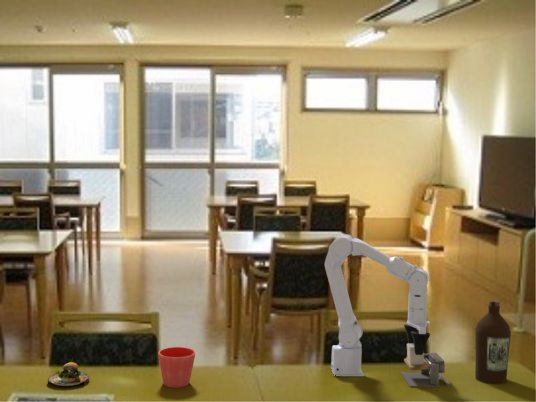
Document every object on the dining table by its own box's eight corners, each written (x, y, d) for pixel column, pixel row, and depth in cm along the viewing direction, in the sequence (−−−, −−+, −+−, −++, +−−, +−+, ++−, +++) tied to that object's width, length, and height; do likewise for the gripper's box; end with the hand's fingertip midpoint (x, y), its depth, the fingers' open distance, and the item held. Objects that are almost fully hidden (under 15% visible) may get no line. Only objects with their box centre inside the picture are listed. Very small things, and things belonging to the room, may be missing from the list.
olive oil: (467, 374, 224) (471, 297, 222) (498, 373, 226) (502, 297, 224) (482, 385, 214) (485, 305, 212) (514, 384, 215) (518, 304, 213)
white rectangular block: (410, 364, 215) (409, 347, 214) (407, 360, 219) (406, 343, 218) (423, 364, 215) (423, 346, 214) (420, 360, 219) (420, 343, 218)
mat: (410, 387, 210) (410, 385, 210) (400, 373, 223) (400, 372, 223) (439, 387, 211) (439, 386, 211) (428, 373, 224) (428, 372, 224)
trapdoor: (410, 374, 212) (410, 362, 212) (404, 365, 221) (403, 354, 221) (444, 372, 213) (444, 361, 212) (436, 363, 222) (436, 352, 221)
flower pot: (188, 391, 203) (188, 358, 202) (152, 387, 205) (153, 355, 204) (199, 379, 213) (199, 348, 212) (165, 376, 215) (165, 345, 215)
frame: (430, 386, 211) (431, 364, 211) (420, 374, 223) (421, 353, 223) (450, 386, 212) (451, 364, 211) (439, 374, 223) (440, 353, 223)
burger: (39, 385, 205) (39, 360, 205) (68, 374, 216) (68, 350, 215) (69, 392, 200) (69, 367, 199) (97, 381, 210) (98, 356, 210)
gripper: (436, 313, 208) (435, 358, 209) (424, 303, 223) (422, 344, 224) (413, 313, 208) (411, 357, 209) (402, 302, 223) (400, 344, 224)
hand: (415, 351), depth 216 cm, fingers open, 7 cm apart
